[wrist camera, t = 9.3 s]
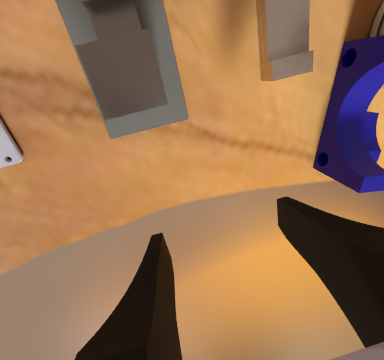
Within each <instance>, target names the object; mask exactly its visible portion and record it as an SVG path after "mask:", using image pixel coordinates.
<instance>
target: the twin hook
mask: <svg viewBox="0 0 384 360" xmlns="http://www.w3.org/2000/svg"><path fill="white" fill-rule="evenodd" d="M309 1H310V0H256V4H257V19H258V34H259V48H260V63H261V78H262V81H275V80H279V79H283V78H287V77H291V76H295V75H299V74H303V73H306V72H310V71H313V50H312V51H308V49H309Z"/></svg>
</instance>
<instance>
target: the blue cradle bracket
mask: <svg viewBox="0 0 384 360" xmlns="http://www.w3.org/2000/svg"><path fill="white" fill-rule="evenodd" d="M383 85H384V35H382V36H376V37H371V38H366V39H360V40H355V41H350V42H344V45H343V49H342V53H341V57H340V61H339V65H338V69H337V73H336V77H335V81H334V85H333V89H332V93H331V97H330V101H329V106H328V110H327V114H326V118H325V122H324V126H323V130H322V134H321V138H320V142H319V146H318V150H317V154H316V158H315V162H314V166H313V168H314V169H316V170H318V171H320V172H322V173H323V174H325V175H327V176H329V177H331V178H333V179H334V180H336V181H338V182H340V183H342V184H344V185H345V186H347V187H349V188H351V189H353V190H355V191H356V192H358V193H363V192H372V191H383V190H384V169H383V168H381V167H380V166H379V165H378V164H377V160H378V158H379V155H380V152H381V150H380V147H379V145H378V142H377V137H376V123H377V118H378V114H379V113H374V112H367V109H368V106H369V104H370V103H371V101H372V99H373V97H374V96H375V94H376V93H377V92H378V90H379V89H380V88H381V87H382V86H383Z"/></svg>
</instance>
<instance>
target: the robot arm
mask: <svg viewBox="0 0 384 360" xmlns="http://www.w3.org/2000/svg"><path fill="white" fill-rule="evenodd" d="M7 157H10V158H11V159H12V161H10V160H9V159H8V158H7ZM22 160H23V155H22V153H21V152H20V150H19V148H18V147H17V145H16V143H15V142H14V140H13V139H12V137H11V135H10V134H9V132H8V130H7V129H6V127H5V125H4V124H3V122H2V121H1V119H0V168H1V167H5V166H9V165H13V164H17V163H19V162H21V161H22ZM277 210H278V226H279V227H280V229H281V230H282V232H283V234H284V235H285V236H286V238H287V240H288V241H289V242H290V243H291V244H292V245H293V247H294V248H295V249H296V250H297V251H298V252H299V254H300V255H301V256H302V257H303V258H304V259H305V260H306V261H307V263H308V264H309V265H310V266H311V267H312V268H313V270H314V271H315V272H316V273H317V275H318V276H319V277H320V278H321V280H322V282H323V283H324V284H325V286H326V287H327V289H328V290H329V291H330V293H331V294H332V296H333V297H334V299H335V300H336V301H337V303H338V305H339V306H340V308H341V309H342V311H343V312H344V314H345V316H346V317H347V319H348V320H349V322H350V323H351V325H352V327H353V328H354V330H355V331H356V333H357V335H358V336H359V338H360V339H361V341H362V343H363V345H364V346H365V348H364V349H361V350H358V351H355V352H352V353H349V354H346V355H343V356H340V357H337V358H334V359H331V360H384V228H381V227H376V226H372V225H367V224H363V223H359V222H356V221H352V220H348V219H345V218H342V217H339V216H336V215H333V214H330V213H327V212H324V211H322V210H319V209H317V208H314V207H311V206H309V205H306V204H304V203H301V202H299V201H297V200H294V199H291V198H289V197H283V198H280V199H277ZM75 360H182V355H181V348H180V341H179V335H178V328H177V321H176V310H175V287H174V272H173V266H172V260H171V256H170V253H169V250H168V247H167V245H166V242H165V239H164V236H163V234H162V233H159V234H155V235H152V237H151V238H150V242H149V244H148V247H147V250H146V253H145V255H144V257H143V260H142V262H141V264H140V267H139V269H138V271H137V273H136V275H135V277H134V279H133V281H132V283H131V284H130V286H129V288H128V290H127V291H126V293H125V295H124V296H123V298H122V299H121V301H120V302H119V304H118V305H117V307H116V308H115V310H114V311H113V312H112V314H111V315H110V316H109V318H108V319H107V320H106V322H105V323H104V324H103V325H102V326H101V328H100V329H99V330H98V331H97V332H96V334H95V335H94V336H93V337H92V338H91V339H90V340H89V341H88V342H87V344H86V345H85V346H84V347H83V348H82V349H81V350H80V351H79V352H78V353H77V355H76V358H75Z"/></svg>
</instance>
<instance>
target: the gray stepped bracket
mask: <svg viewBox="0 0 384 360" xmlns="http://www.w3.org/2000/svg"><path fill="white" fill-rule="evenodd" d="M80 2H81V3H82V4H83V5H84V6H85V8H86V9H87V10H88V12H89V15H90V18H91V20H92V23H93V26H94V29H95V32H96V35H97V38H98V40H97V41H93V42H88V43H84V44H80V45H75V46H76V49H77V51H78V54H79V56H80V59H81V61H82V64H83V66H84V69H85V71H86V74H87V77H88V79H89V82H90V84H91V87H92V89H93V92H94V94H95V97H96V99H97V102H98V104H99V107H100V109H101V112H102V114H103V117H104V119H105V120H109V119H113V118H117V117H121V116H124V115H128V114H132V113H136V112H140V111H144V110H148V109H152V108H156V107H160V106H164V105H168V101H167V97H166V93H165V89H164V86H163V82H162V78H161V74H160V70H159V66H158V62H157V58H156V54H155V51H154V47H153V43H152V39H151V35H150V31H149V28H148V29H144V30H142V29H141V25H140V22H139V18H138V14H137V10H136V7H135V3H134V0H80Z"/></svg>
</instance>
